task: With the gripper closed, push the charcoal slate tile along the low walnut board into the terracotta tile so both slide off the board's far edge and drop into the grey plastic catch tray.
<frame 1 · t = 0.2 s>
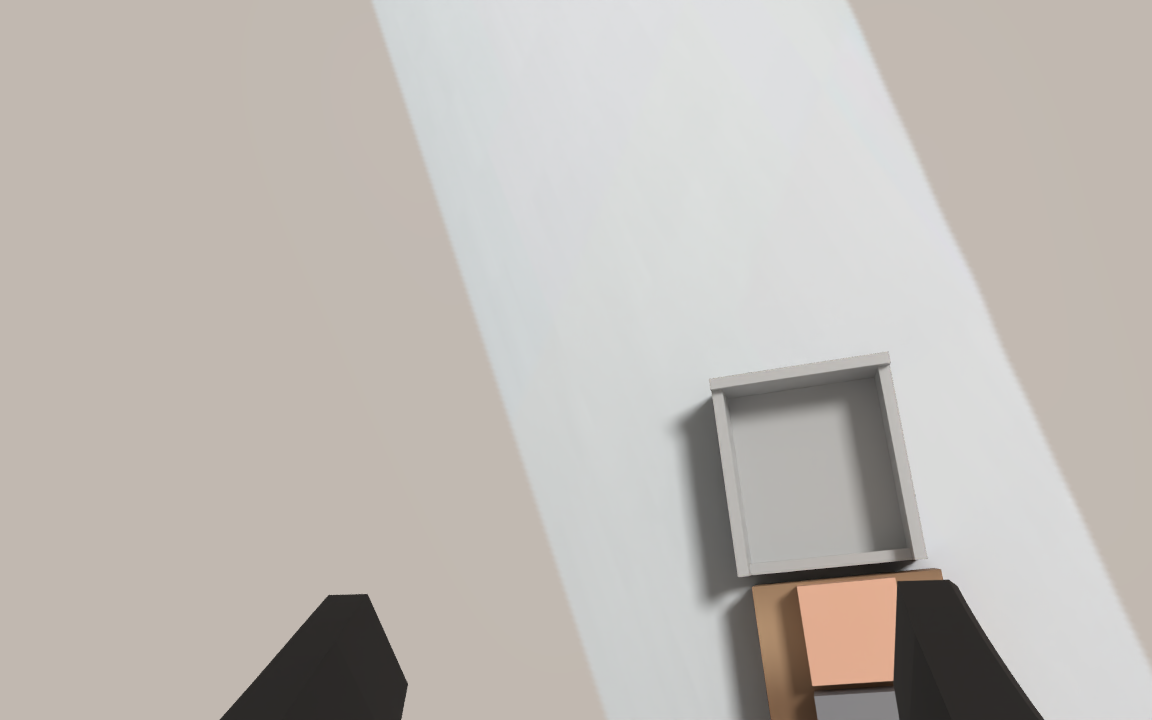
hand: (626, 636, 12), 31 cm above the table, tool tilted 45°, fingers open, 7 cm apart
tile terracotta: (852, 628, 37), point 2 cm above the table, touching walnut board
walnut board: (865, 714, 38), on the table
catch tray: (813, 470, 41), on the table
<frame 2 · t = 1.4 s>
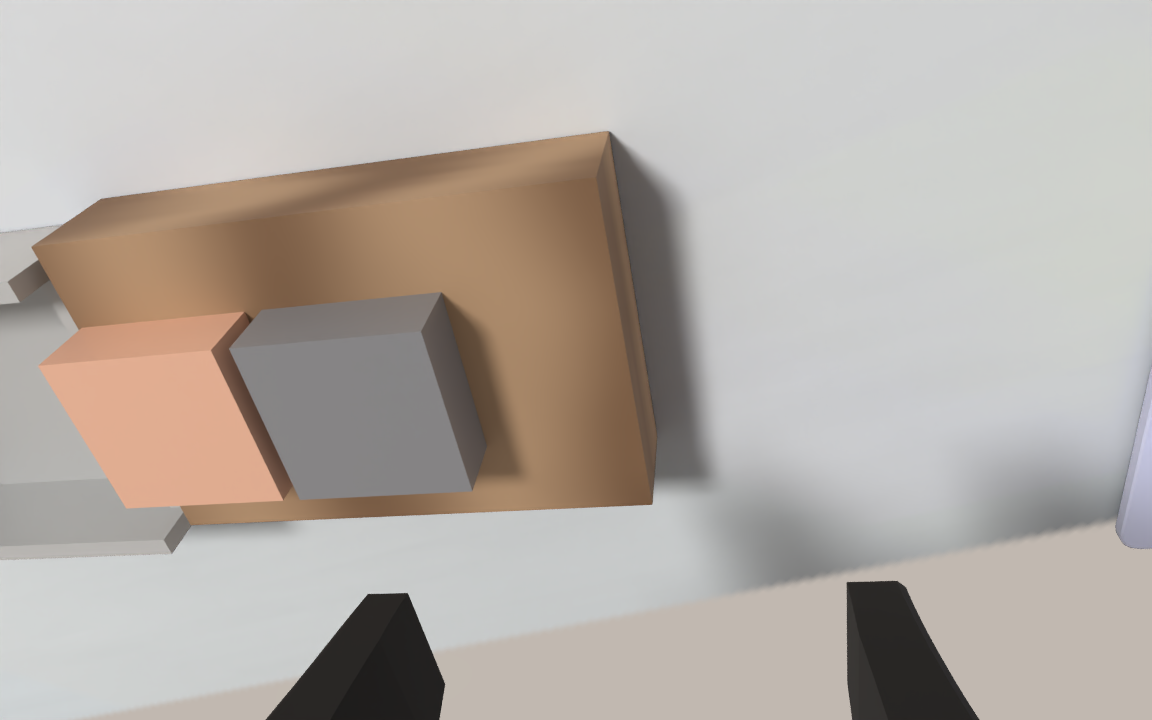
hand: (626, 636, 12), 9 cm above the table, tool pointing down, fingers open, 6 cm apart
tile terracotta: (199, 394, 19), point 2 cm above the table, touching walnut board
tile charcoal: (378, 380, 19), point 2 cm above the table, touching walnut board
walnut board: (391, 323, 21), on the table
catch tray: (20, 373, 23), on the table
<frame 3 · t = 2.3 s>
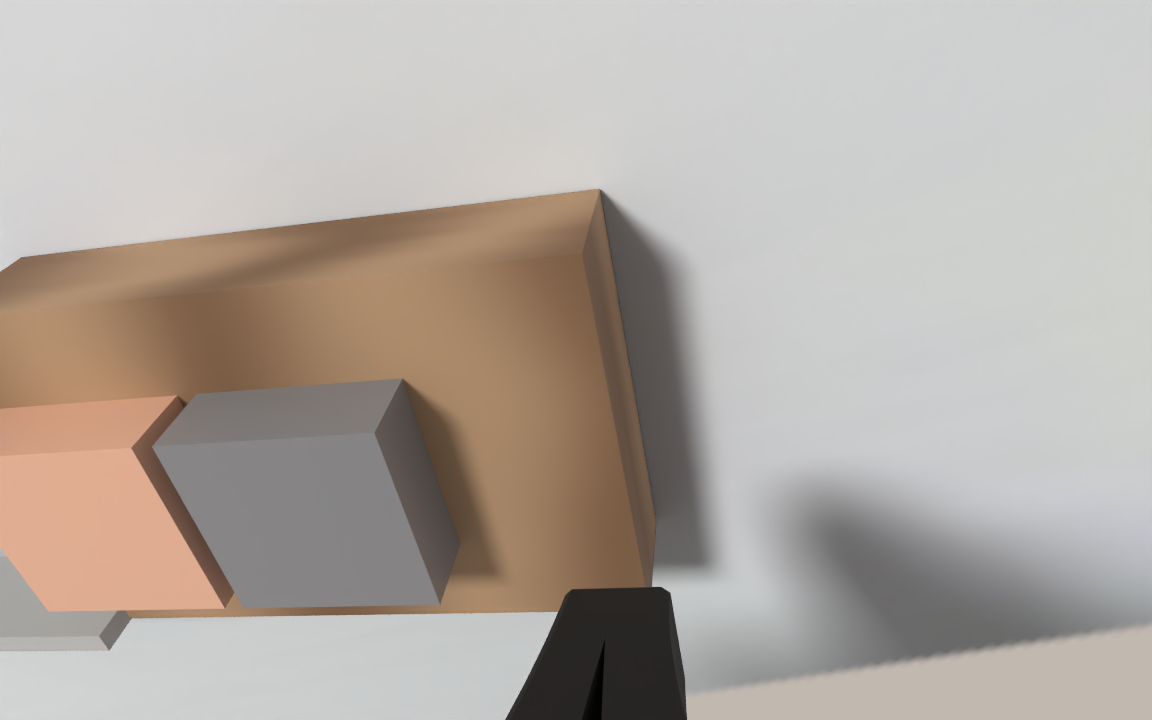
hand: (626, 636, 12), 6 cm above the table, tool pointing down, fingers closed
tile terracotta: (131, 482, 17), point 2 cm above the table, touching walnut board
tile charcoal: (333, 472, 16), point 2 cm above the table, touching walnut board
walnut board: (354, 396, 18), on the table
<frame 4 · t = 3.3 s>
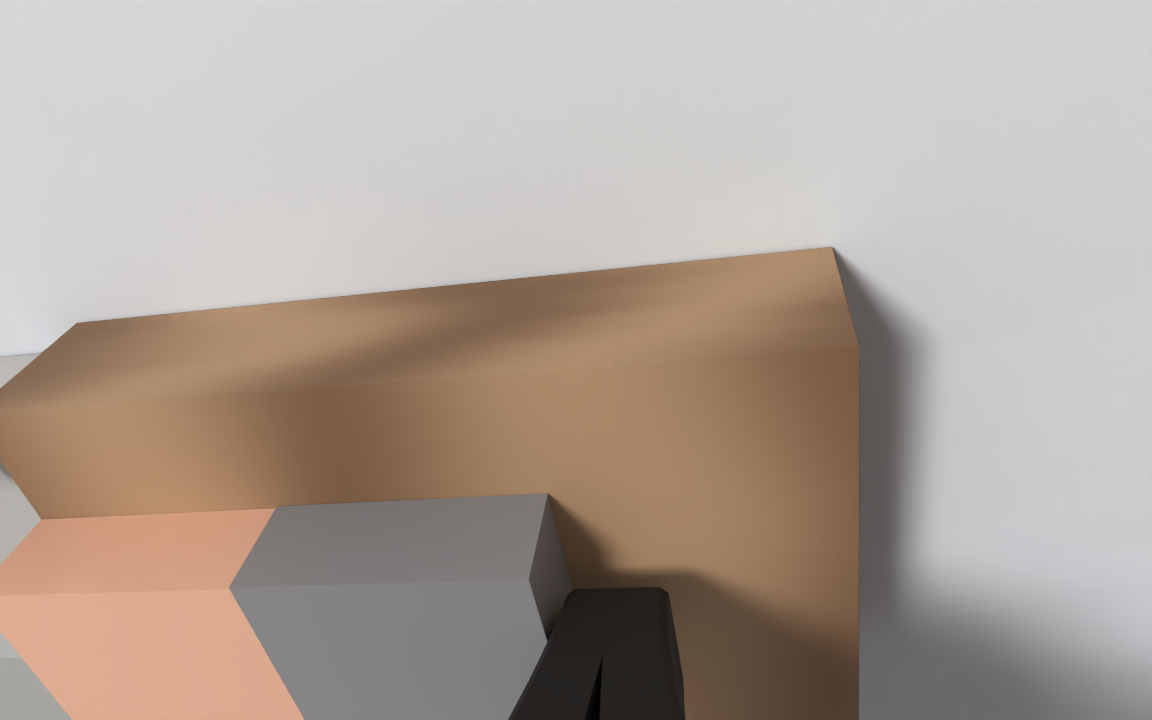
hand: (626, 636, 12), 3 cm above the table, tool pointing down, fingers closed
tile terracotta: (210, 605, 14), point 3 cm above the table, touching tile charcoal
tile charcoal: (444, 598, 13), point 3 cm above the table, touching gripper, tile terracotta
walnut board: (481, 487, 15), on the table
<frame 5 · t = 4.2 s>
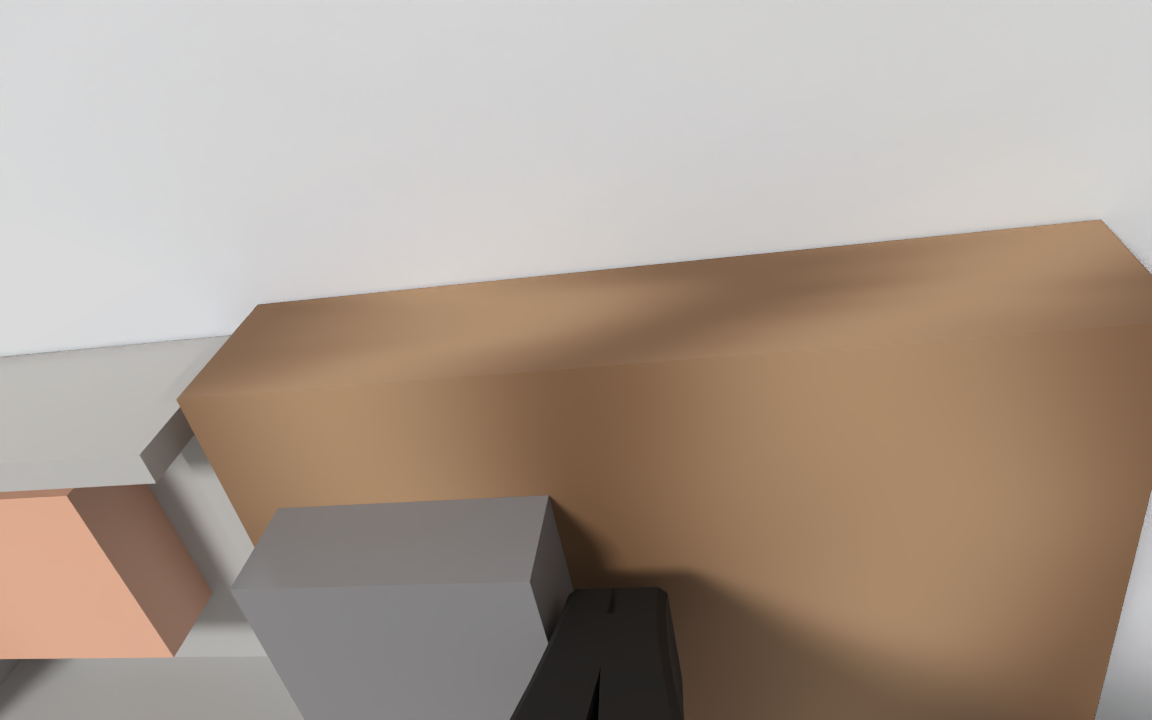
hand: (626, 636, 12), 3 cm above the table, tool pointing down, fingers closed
tile terracotta: (25, 585, 15), point 2 cm above the table, tilted 180°, touching catch tray
tile charcoal: (445, 599, 13), point 3 cm above the table, touching gripper, walnut board
walnut board: (670, 478, 14), on the table
catch tray: (114, 525, 17), on the table
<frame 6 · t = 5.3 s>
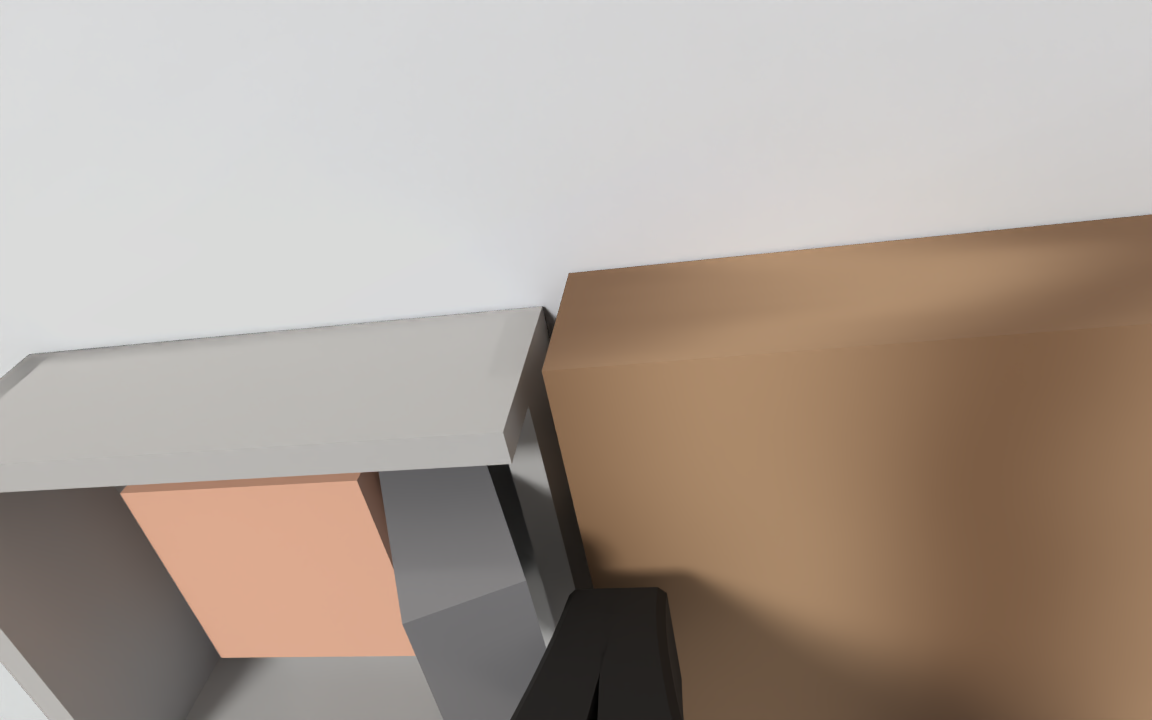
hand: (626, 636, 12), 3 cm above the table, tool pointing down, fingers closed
tile terracotta: (282, 578, 14), point 2 cm above the table, tilted 180°, touching catch tray, tile charcoal
tile charcoal: (522, 580, 13), point 2 cm above the table, tilted 66°, touching catch tray, gripper, tile terracotta
walnut board: (991, 462, 13), on the table
catch tray: (348, 515, 16), on the table
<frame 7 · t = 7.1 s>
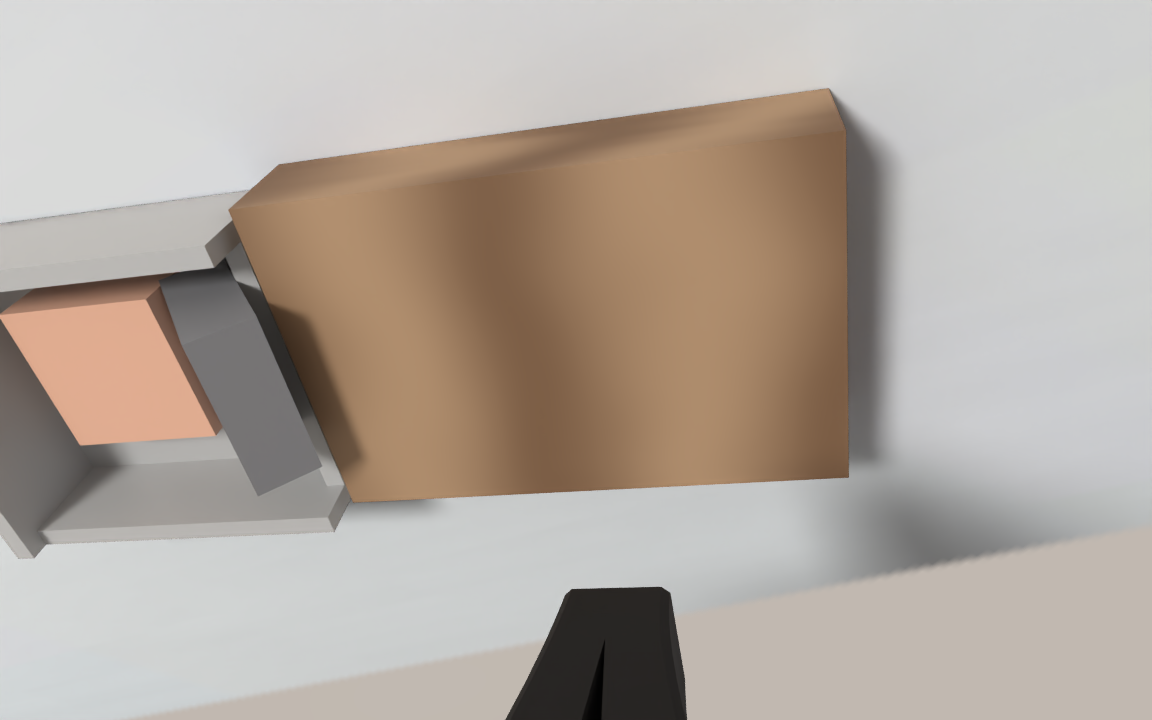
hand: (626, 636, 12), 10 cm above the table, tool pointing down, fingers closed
tile terracotta: (110, 377, 21), point 2 cm above the table, tilted 180°, touching catch tray
tile charcoal: (271, 359, 20), point 2 cm above the table, tilted 53°, touching catch tray
walnut board: (569, 293, 20), on the table
catch tray: (169, 349, 23), on the table
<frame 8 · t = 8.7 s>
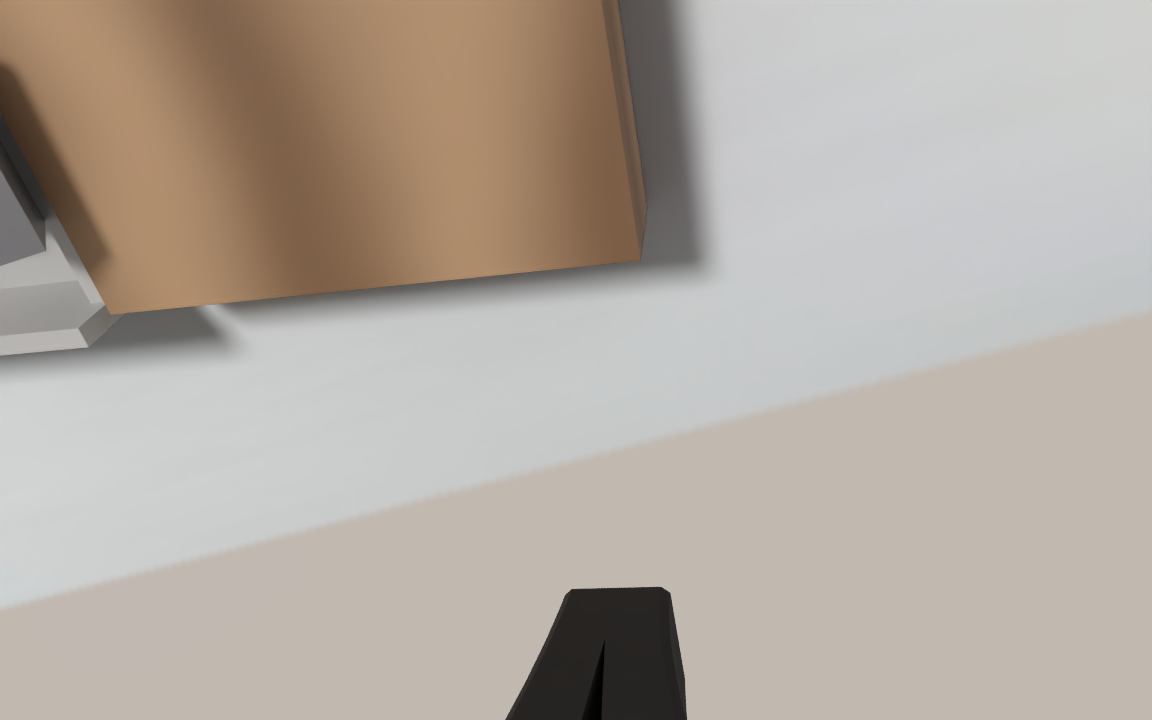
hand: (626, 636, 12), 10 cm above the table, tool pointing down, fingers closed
walnut board: (338, 65, 18), on the table
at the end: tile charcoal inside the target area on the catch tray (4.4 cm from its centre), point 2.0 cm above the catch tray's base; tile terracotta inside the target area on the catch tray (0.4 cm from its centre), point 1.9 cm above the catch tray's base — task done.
